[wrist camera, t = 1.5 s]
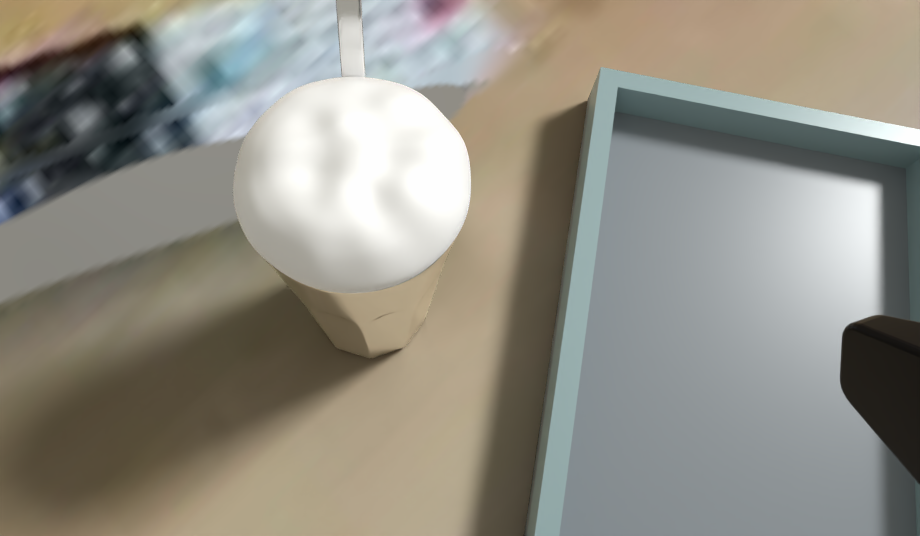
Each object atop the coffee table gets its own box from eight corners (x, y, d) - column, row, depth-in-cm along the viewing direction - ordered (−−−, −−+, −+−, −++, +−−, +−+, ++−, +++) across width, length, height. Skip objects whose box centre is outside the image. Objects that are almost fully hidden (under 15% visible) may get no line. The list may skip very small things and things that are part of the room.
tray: (932, 705, 19) (982, 720, 18) (511, 621, 19) (521, 628, 18) (914, 163, 25) (950, 135, 23) (587, 99, 25) (600, 67, 23)
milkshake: (445, 207, 23) (471, -20, 14) (451, 379, 21) (487, 249, 12) (296, 209, 23) (221, -24, 14) (289, 383, 21) (197, 252, 12)
